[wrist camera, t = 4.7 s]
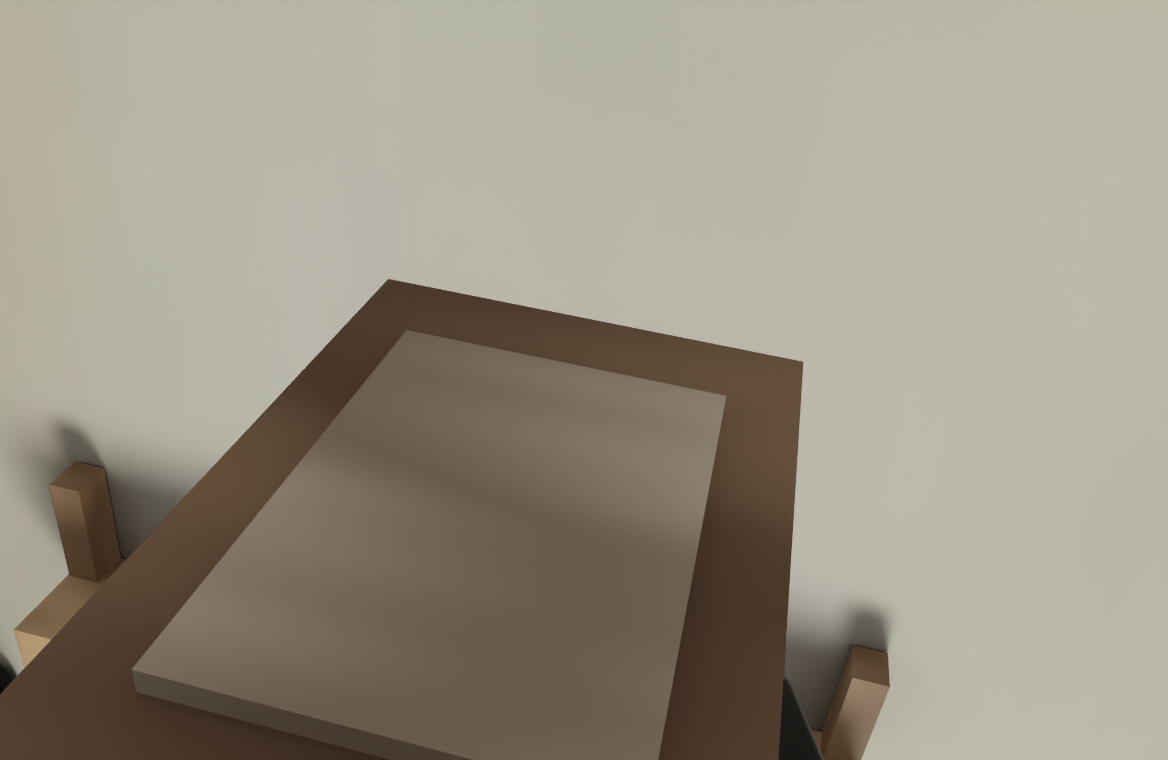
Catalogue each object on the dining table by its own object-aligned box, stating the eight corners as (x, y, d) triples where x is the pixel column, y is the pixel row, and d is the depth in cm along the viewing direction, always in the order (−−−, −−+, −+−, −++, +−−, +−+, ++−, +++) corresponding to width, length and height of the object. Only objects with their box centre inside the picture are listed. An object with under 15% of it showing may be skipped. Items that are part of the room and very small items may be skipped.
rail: (103, 604, 28) (29, 685, 25) (73, 461, 25) (-13, 535, 22) (836, 792, 25) (836, 904, 22) (890, 653, 22) (896, 763, 20)
